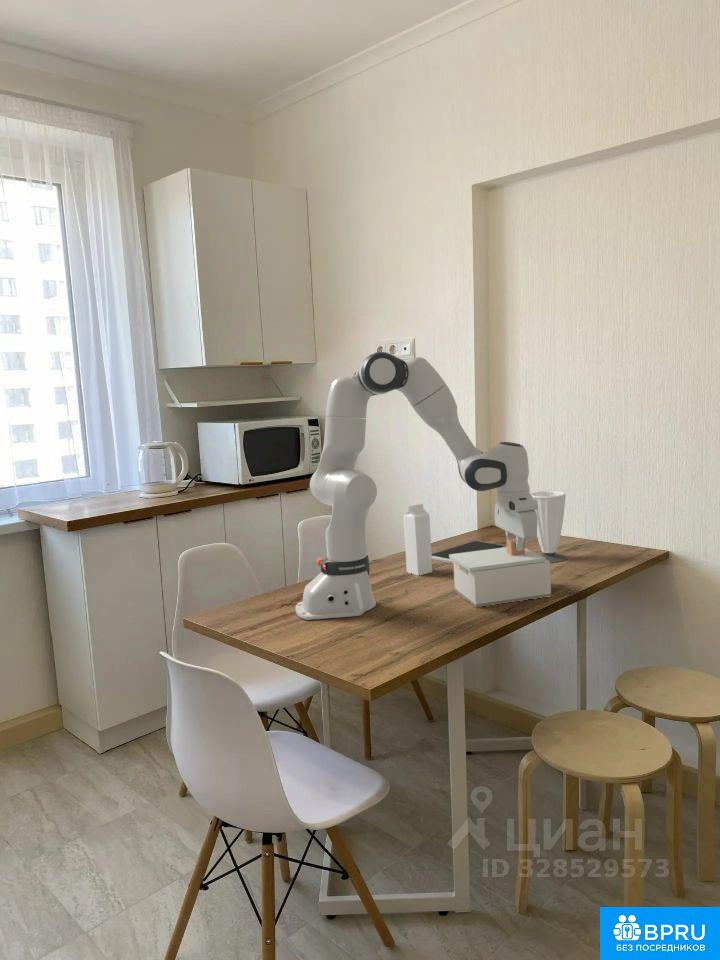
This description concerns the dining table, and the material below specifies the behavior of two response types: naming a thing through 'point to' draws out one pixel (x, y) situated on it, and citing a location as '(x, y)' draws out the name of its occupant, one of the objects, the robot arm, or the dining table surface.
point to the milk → (417, 540)
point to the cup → (550, 522)
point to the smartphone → (464, 550)
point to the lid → (496, 557)
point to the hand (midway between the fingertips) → (515, 548)
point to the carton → (503, 583)
